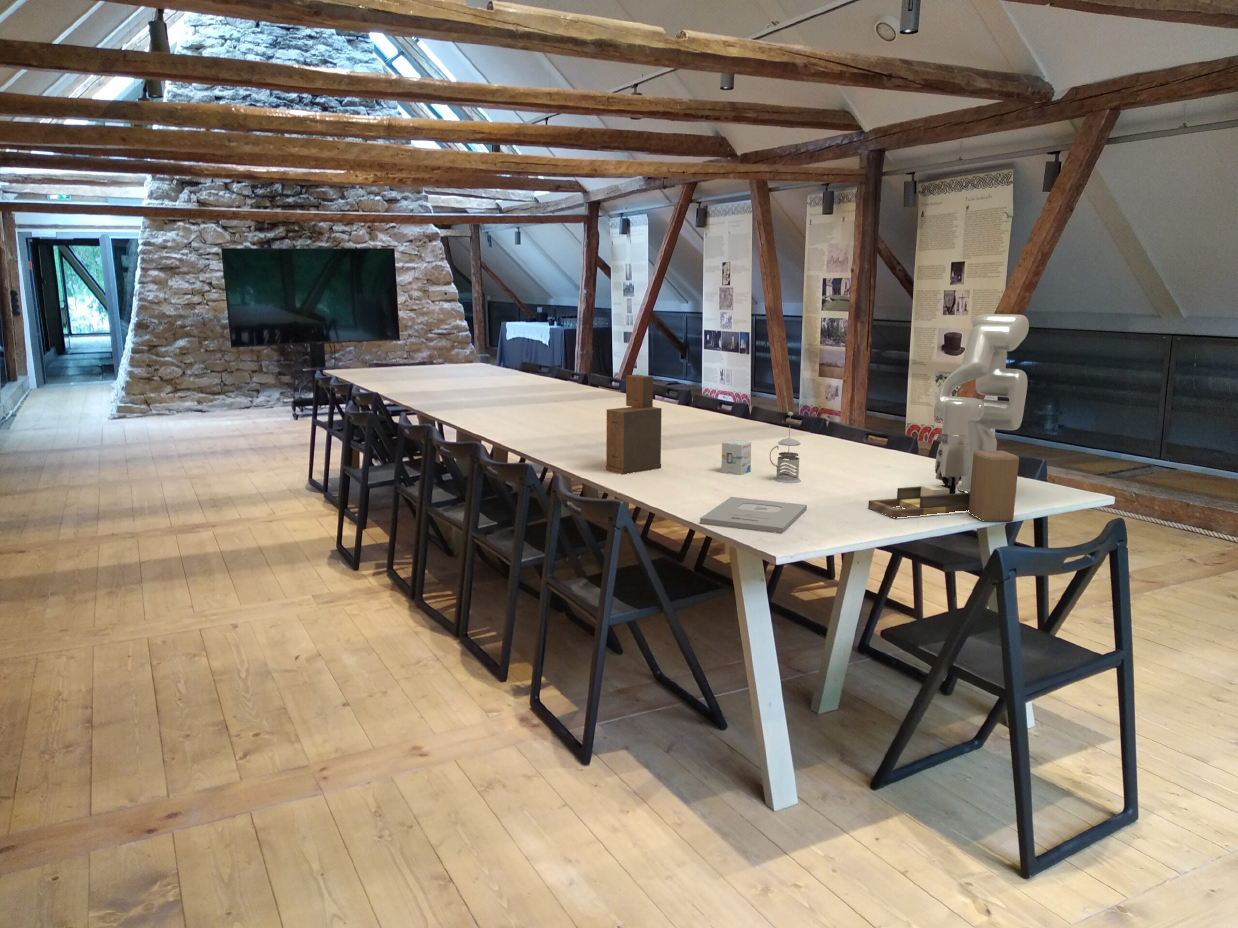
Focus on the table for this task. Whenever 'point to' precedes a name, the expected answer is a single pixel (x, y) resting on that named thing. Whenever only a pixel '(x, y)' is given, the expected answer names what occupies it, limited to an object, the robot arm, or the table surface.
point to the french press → (787, 461)
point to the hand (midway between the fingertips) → (949, 496)
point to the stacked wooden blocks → (634, 430)
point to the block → (993, 485)
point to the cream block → (933, 490)
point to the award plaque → (754, 514)
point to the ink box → (736, 457)
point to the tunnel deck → (920, 503)
